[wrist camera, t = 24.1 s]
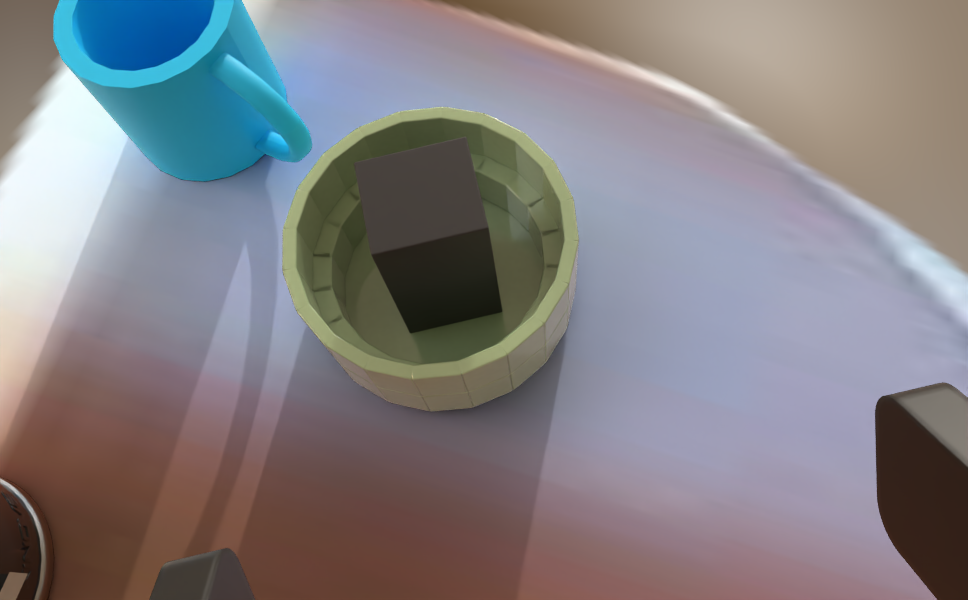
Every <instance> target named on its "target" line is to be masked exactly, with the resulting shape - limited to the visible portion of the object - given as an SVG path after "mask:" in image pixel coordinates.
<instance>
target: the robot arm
mask: <svg viewBox="0 0 968 600" xmlns="http://www.w3.org/2000/svg"><path fill="white" fill-rule="evenodd" d="M875 429H876V471H877V501H878V507H879V512H880V516H881V519H882V522H883V525H884V527H885V530H886V532H887V534H888V536H889V538H890V540H891V542H892V543H893V545H894V546H895V548H896V549H897V551H898V552H899V553H900V554H901V556H902V557H903V558H904V559H905V561H906V562H907V563H908V564H909V565H910V567H911V568H912V569H913V570H914V572H915V573H916V574H917V575H918V576H919V578H920V579H921V580H922V581H923V583H924V584H925V585H926V586H927V587H928V589H929V590H930V591H931V592H932V594H933V595H934V596H935V597H936V598H937V600H968V397H966V396H965V395H964V394H963V393H961V392H960V391H959V390H958V389H956V388H955V387H953V386H952V385H950V384H948V383H938V384H933V385H929V386H925V387H921V388H916V389H912V390H908V391H904V392H899V393H895V394H891V395H886V396H882V397H881V398H880V399H879V400H878V402H877V405H876V410H875ZM53 565H54V554H53V544H52V538H51V534H50V530H49V527H48V524H47V522H46V519H45V517H44V515H43V513H42V511H41V510H40V508H39V507H38V505H37V504H36V502H35V501H34V500H33V499H32V498H31V497H30V495H28V494H27V493H26V492H25V491H24V490H23V489H21V488H20V487H19V486H17V485H16V484H14V483H12V482H10V481H8V480H6V479H4V478H1V477H0V600H47V598H48V595H49V592H50V587H51V583H52V576H53ZM149 600H255V598H254V596H253V593H252V591H251V588H250V586H249V584H248V581H247V579H246V576H245V574H244V572H243V569H242V567H241V564H240V562H239V560H238V558H237V556H236V555H235V553H234V552H233V551H232V550H231V549H229V548H225V549H221V550H216V551H212V552H208V553H204V554H199V555H195V556H191V557H187V558H182V559H178V560H174V561H170V562H167V563H165V564H164V565H163V567H162V568H161V570H160V572H159V575H158V578H157V580H156V583H155V586H154V589H153V591H152V594H151V597H150V599H149Z"/></svg>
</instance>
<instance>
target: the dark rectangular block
mask: <svg viewBox="0 0 968 600" xmlns="http://www.w3.org/2000/svg"><path fill="white" fill-rule="evenodd" d="M354 167H355V173H356V178H357V183H358V189H359V194H360V199H361V205H362V210H363V215H364V221H365V226H366V231H367V237H368V242H369V247H370V253H371V256H372V258H373V260H374V262H375V264H376V266H377V268H378V270H379V272H380V274H381V276H382V278H383V280H384V282H385V284H386V286H387V288H388V290H389V292H390V294H391V296H392V298H393V300H394V302H395V304H396V306H397V308H398V310H399V312H400V314H401V316H402V318H403V320H404V322H405V324H406V326H407V328H408V330H409V332H410V333H415V332H419V331H423V330H427V329H432V328H436V327H440V326H445V325H449V324H453V323H457V322H462V321H466V320H470V319H475V318H479V317H483V316H487V315H492V314H496V313H500V312H502V305H501V299H500V293H499V287H498V281H497V275H496V269H495V263H494V257H493V250H492V244H491V238H490V232H489V226H488V222H487V218H486V214H485V210H484V206H483V202H482V198H481V194H480V190H479V186H478V182H477V178H476V174H475V170H474V166H473V162H472V158H471V154H470V149H469V145H468V141H467V138H466V137H462V138H457V139H453V140H449V141H444V142H440V143H436V144H431V145H427V146H423V147H419V148H414V149H410V150H406V151H401V152H397V153H393V154H388V155H384V156H380V157H376V158H371V159H367V160H363V161H358V162H355V163H354Z"/></svg>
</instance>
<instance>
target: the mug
mask: <svg viewBox="0 0 968 600" xmlns="http://www.w3.org/2000/svg"><path fill="white" fill-rule="evenodd" d="M54 42H55V44H56V46H57V49H58V51H59V53H60V56H61V58H62V60H63V61H64V63H65V64H66V65H67V66H68V67H69V68H70V70H71V71H72V72H73V73H74V74H75V75H76V76H77V78H78V79H79V80H80V81H81V82H82V83H83V85H84V86H85V87H86V88H87V89H88V90H89V91H90V93H91V94H92V95H93V96H94V97H95V98H96V99H97V101H98V102H99V103H100V104H101V105H102V106H103V108H104V109H105V110H106V111H107V112H108V113H109V114H110V116H111V117H112V118H113V119H114V120H115V121H116V122H117V124H118V125H119V126H120V127H121V128H122V129H123V131H124V132H125V133H126V134H127V135H128V136H129V137H130V139H131V140H132V141H133V142H134V143H135V144H136V146H137V147H138V148H139V149H140V150H141V151H142V152H143V154H144V155H145V156H146V157H147V158H148V159H149V160H150V161H151V162H152V163H153V164H154V165H155V166H156V167H158V168H159V169H160V170H161V171H163V172H165V173H167V174H170V175H172V176H174V177H177V178H179V179H181V180H193V181H204V182H205V181H210V180H215V179H220V178H225V177H230V176H232V175H234V174H236V173H238V172H240V171H242V170H244V169H246V168H248V167H250V166H252V165H253V164H254V163H255V162H256V161H258V160H259V159H260V158H261V157H262V156H263V155H264V154H266V155H269V156H271V157H274V158H276V159H278V160H281V161H287V162H298V161H300V160H302V159H303V158H304V157H305V156H306V155H307V154H308V153H309V152H310V150H311V148H312V140H311V136H310V133H309V130H308V128H307V127H306V125H305V124H304V122H303V121H302V119H301V118H300V116H299V115H298V114H297V113H296V112H295V111H294V110H293V109H292V107H291V106H290V105H289V104H288V103H287V97H286V89H285V87H284V85H283V83H282V81H281V79H280V76H279V74H278V72H277V70H276V68H275V66H274V64H273V62H272V60H271V58H270V56H269V54H268V52H267V50H266V48H265V46H264V44H263V42H262V40H261V38H260V36H259V34H258V32H257V30H256V28H255V26H254V24H253V22H252V20H251V18H250V16H249V14H248V12H247V10H246V8H245V6H244V4H243V2H242V0H60V1H59V4H58V6H57V9H56V11H55V14H54Z"/></svg>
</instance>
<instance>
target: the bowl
mask: <svg viewBox="0 0 968 600" xmlns="http://www.w3.org/2000/svg"><path fill="white" fill-rule="evenodd" d="M462 137H466V138H467V141H468V145H469V149H470V154H471V158H472V162H473V166H474V170H475V174H476V178H477V182H478V186H479V190H480V194H481V198H482V202H483V206H484V210H485V214H486V218H487V222H488V226H489V232H490V238H491V244H492V250H493V257H494V263H495V269H496V275H497V281H498V287H499V293H500V299H501V305H502V312H500V313H496V314H492V315H487V316H483V317H479V318H475V319H470V320H466V321H462V322H457V323H453V324H449V325H445V326H440V327H436V328H432V329H427V330H423V331H419V332H415V333H410V332H409V330H408V328H407V326H406V324H405V322H404V320H403V318H402V316H401V314H400V312H399V310H398V308H397V306H396V304H395V302H394V300H393V298H392V296H391V294H390V292H389V290H388V288H387V286H386V284H385V282H384V280H383V278H382V276H381V274H380V272H379V270H378V268H377V266H376V264H375V262H374V260H373V258H372V256H371V253H370V247H369V242H368V237H367V231H366V226H365V221H364V215H363V210H362V205H361V199H360V194H359V189H358V183H357V178H356V173H355V167H354V163H355V162H358V161H363V160H367V159H371V158H376V157H380V156H384V155H388V154H393V153H397V152H401V151H406V150H410V149H414V148H419V147H423V146H427V145H431V144H436V143H440V142H444V141H449V140H453V139H457V138H462ZM578 246H579V237H578V229H577V222H576V214H575V206H574V200H573V197H572V195H571V193H570V191H569V189H568V187H567V185H566V183H565V181H564V179H563V177H562V175H561V173H560V171H559V169H558V168H557V166H556V164H555V162H554V161H553V160H552V159H551V158H550V157H549V156H548V155H547V154H546V153H545V152H544V151H543V150H542V149H541V148H540V147H539V146H538V145H537V144H536V143H535V142H534V141H533V140H532V139H530V138H529V137H528V136H527V135H526V134H525V133H523V132H522V131H520V130H518V129H516V128H514V127H512V126H510V125H508V124H505V123H503V122H501V121H499V120H497V119H495V118H493V117H491V116H489V115H487V114H486V115H485V114H484V113H479V112H473V111H466V110H460V109H454V108H448V107H435V108H426V109H417V110H408V111H400V112H396V113H394V114H391V115H389V116H386V117H384V118H381V119H379V120H376V121H374V122H371V123H368V124H366V125H363V126H361V127H359V128H357V129H355V130H354V131H353V132H351V133H350V134H349V135H347V136H346V137H345V138H343V139H342V140H341V141H339V142H338V143H337V144H335V145H334V146H333V147H331V148H330V149H329V150H327V151H326V152H325V153H324V155H322V156H321V157H320V159H319V160H318V161H317V163H316V164H315V165H314V167H313V168H312V169H311V171H310V172H309V173H308V175H307V176H306V177H305V179H304V180H303V181H302V183H301V184H300V185H299V187H298V189H297V190H296V193H295V196H294V199H293V202H292V204H291V207H290V210H289V213H288V216H287V219H286V221H285V224H284V227H283V258H282V270H283V275H284V277H285V280H286V283H287V286H288V289H289V292H290V295H291V297H292V300H293V303H294V306H295V309H296V311H297V313H298V314H299V315H300V317H301V318H302V319H303V320H304V321H305V323H306V324H307V325H308V326H309V328H310V329H311V330H312V331H313V332H314V334H315V335H316V336H317V337H318V338H319V340H320V341H321V342H322V343H323V345H324V346H325V347H326V348H327V349H328V351H329V352H330V353H331V354H332V355H333V357H334V358H335V359H336V360H337V362H338V363H339V364H340V365H341V366H342V368H343V369H344V370H345V371H346V372H347V374H348V375H349V376H350V377H351V379H352V380H354V381H355V382H356V383H357V384H359V385H361V386H362V387H364V388H366V389H367V390H369V391H371V392H372V393H374V394H376V395H377V396H379V397H381V398H382V399H384V400H386V401H387V402H390V403H394V404H398V405H403V406H407V407H412V408H416V409H421V410H425V411H431V412H433V411H444V410H455V409H465V408H473V406H474V407H476V406H478V405H481V404H483V403H485V402H488V401H490V400H492V399H495V398H497V397H500V396H502V395H504V394H507V393H509V392H511V391H512V390H515V389H516V388H517V387H518V386H520V385H521V384H522V383H523V382H524V381H525V380H527V379H528V378H529V377H530V376H531V375H532V374H534V373H535V372H536V371H537V370H538V369H539V368H541V367H542V366H543V365H544V364H545V362H547V361H548V359H549V357H550V356H551V354H552V352H553V351H554V349H555V347H556V346H557V344H558V342H559V341H560V339H561V337H562V336H563V334H564V333H565V331H566V329H567V326H568V323H569V318H570V314H571V309H572V305H573V300H574V295H575V291H576V277H577V261H578Z"/></svg>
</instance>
